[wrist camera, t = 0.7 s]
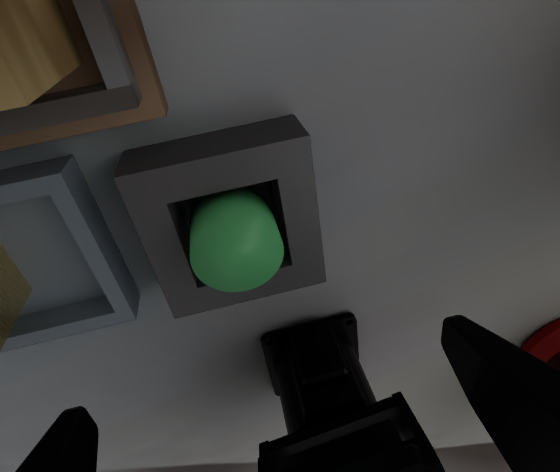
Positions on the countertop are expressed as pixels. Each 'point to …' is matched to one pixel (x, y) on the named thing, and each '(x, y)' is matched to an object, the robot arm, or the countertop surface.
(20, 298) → the block
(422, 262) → the countertop surface
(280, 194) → the button base
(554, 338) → the canned food
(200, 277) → the button
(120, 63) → the pallet
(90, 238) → the tray
